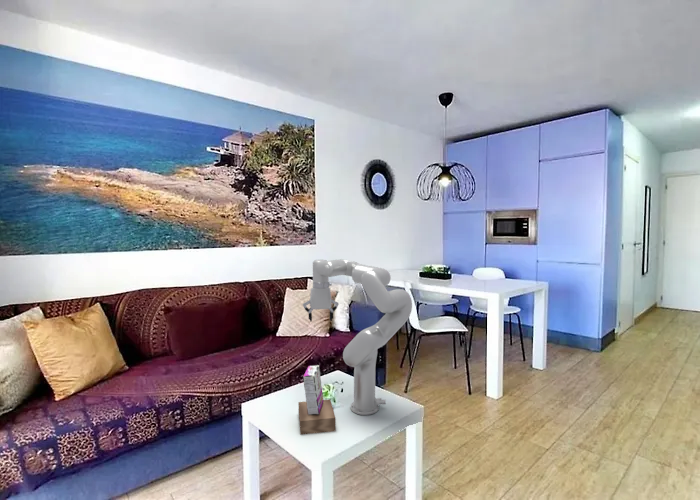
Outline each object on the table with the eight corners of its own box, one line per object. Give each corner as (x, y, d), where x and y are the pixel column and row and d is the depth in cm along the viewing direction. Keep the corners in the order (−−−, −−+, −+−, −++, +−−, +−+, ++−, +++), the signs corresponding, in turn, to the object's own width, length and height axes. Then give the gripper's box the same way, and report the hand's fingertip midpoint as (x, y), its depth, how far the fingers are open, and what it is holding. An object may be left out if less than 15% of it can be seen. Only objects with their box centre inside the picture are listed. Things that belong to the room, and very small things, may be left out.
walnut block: (330, 412, 165) (330, 399, 164) (335, 432, 149) (335, 417, 149) (298, 415, 162) (298, 402, 162) (300, 435, 147) (300, 421, 146)
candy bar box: (312, 402, 162) (308, 365, 161) (323, 401, 161) (319, 364, 160) (307, 415, 151) (302, 376, 150) (319, 414, 150) (314, 375, 149)
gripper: (337, 283, 184) (337, 317, 185) (302, 284, 181) (302, 319, 182) (339, 286, 177) (339, 321, 178) (302, 287, 174) (303, 323, 175)
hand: (320, 320), depth 180 cm, fingers open, 9 cm apart
